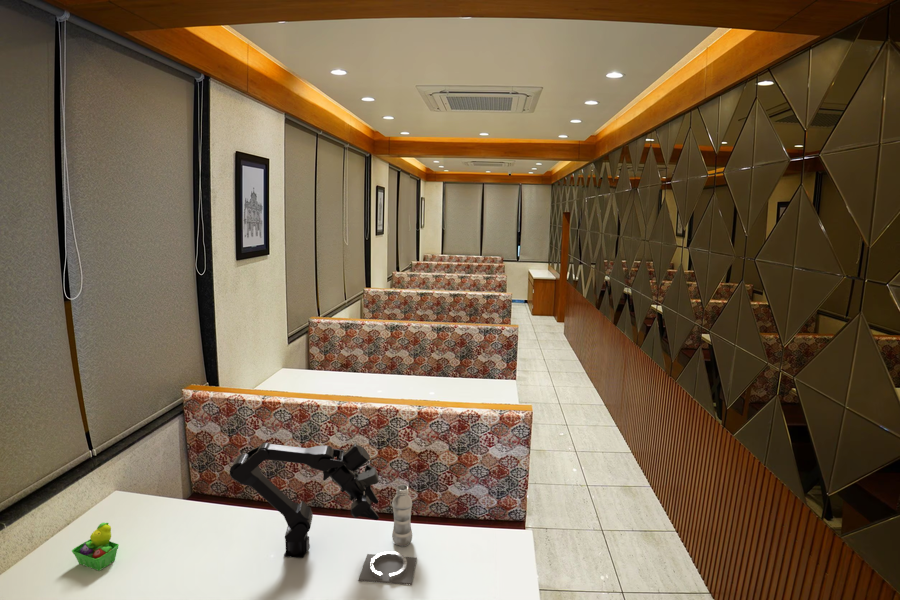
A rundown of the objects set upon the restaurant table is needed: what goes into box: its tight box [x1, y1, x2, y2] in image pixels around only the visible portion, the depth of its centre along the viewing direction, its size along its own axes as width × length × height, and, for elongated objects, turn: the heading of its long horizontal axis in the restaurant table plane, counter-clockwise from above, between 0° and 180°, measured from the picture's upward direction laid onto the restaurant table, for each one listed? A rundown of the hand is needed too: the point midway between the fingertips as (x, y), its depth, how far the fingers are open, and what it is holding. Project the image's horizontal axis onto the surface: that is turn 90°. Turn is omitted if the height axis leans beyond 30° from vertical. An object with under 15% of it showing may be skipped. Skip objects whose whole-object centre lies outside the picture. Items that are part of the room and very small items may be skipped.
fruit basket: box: [71, 522, 120, 571], centre depth 164 cm, size 11×9×11 cm
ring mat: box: [358, 553, 418, 586], centre depth 164 cm, size 16×12×1 cm
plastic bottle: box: [391, 484, 413, 547], centre depth 175 cm, size 6×7×20 cm
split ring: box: [370, 550, 407, 581], centre depth 163 cm, size 11×11×2 cm
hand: (377, 510), depth 172 cm, fingers open, 9 cm apart
